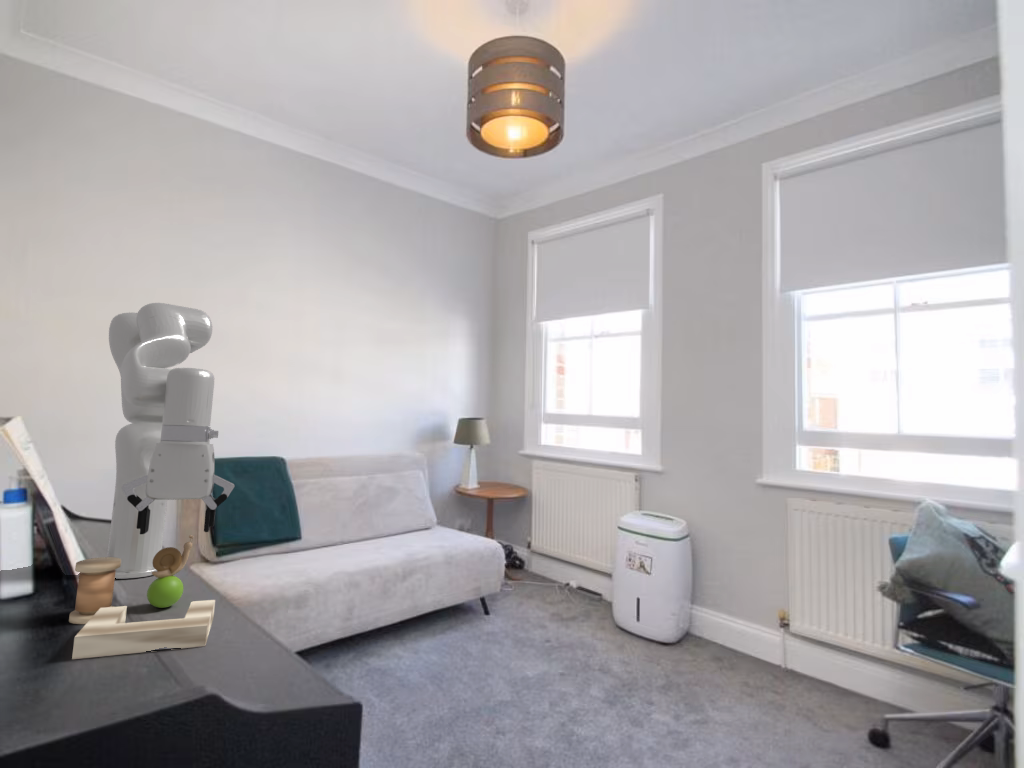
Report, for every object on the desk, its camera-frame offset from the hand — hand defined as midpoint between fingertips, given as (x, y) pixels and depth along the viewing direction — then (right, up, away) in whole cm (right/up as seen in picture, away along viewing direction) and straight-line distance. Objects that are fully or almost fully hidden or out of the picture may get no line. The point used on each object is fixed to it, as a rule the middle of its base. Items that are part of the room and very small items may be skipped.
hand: (176, 531), depth 95 cm
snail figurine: (-1, -13, -1) cm, 13 cm away
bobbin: (-9, -12, -7) cm, 17 cm away
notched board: (+4, -12, -13) cm, 19 cm away
